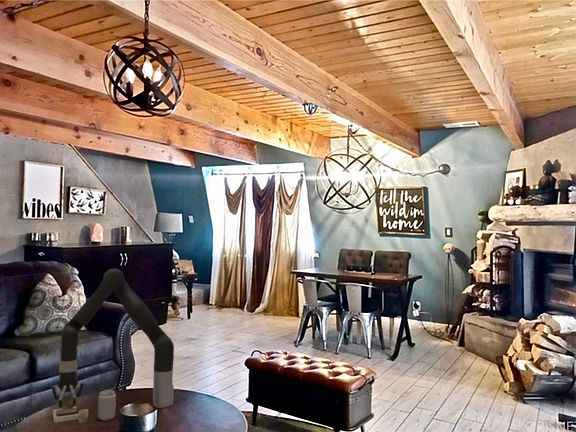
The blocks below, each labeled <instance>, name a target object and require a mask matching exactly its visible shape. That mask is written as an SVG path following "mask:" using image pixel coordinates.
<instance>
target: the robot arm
mask: <svg viewBox="0 0 576 432" xmlns="http://www.w3.org/2000/svg"><path fill="white" fill-rule="evenodd" d="M112 293H113V294H114V295H115V296H116V297H117V299H118V300H119V302H120V303H121V305H122V307H123V309H124V311H125V312H126V313H127V315H128V317H129V318H130V320H131V321H132V322H133V323H134V324H135V325H136V326H137V328H139V330H141V331H142V332H143V333H144V334H145V335H146V336H147V338H148V340H149V341H150V342H151V344H152V346H153V349H154V354H153V355H154V361H153V383H152V384H153V385H152V386H153V388H152V389H153V391H152V406H153V407H154V406H155V408H159V409H161V408H162V409H163V408H168V407H171V406H173V405H174V384H173V383H174V382H173V380H174V379H173V375H174V374H173V373H174V359H175V358H174V356H175V355H174V353H175V345H174V343H173V340H172V339H171V338H170V336H168V335H167V334H166V332H165V331H164V330H163V329H162V328H161V326H159V324H158V322H157V320H156V318H155V316H154V315H153V313H152V312H151V310H150V309H149V308H148V306H147V305H146V303H145V302H144V301H143V300H142V298H140V296H138V295H137V294H136V293H135V291H133V289H132V288H131V287H130V285H129V284H128V282H127V280H126V279H125V276H124V272H122V271H121V270H120V269H118V268H110V269H108V270H106V271H105V272H104V275H103V279H102V281H101V283H100V285H99V286H98V287H97V288H96V290H95V291H94V292H93V293H92V294H91V296H89V298H88V299H87V300H86V301H85V302H84V303H83V304H82V306H81V307H80V308H79V309H78V310H77V311H76V313H75V315H73V317H72V318H71V319H70V320H69V321H68V322H67V323H66V324H65V325H64V326H63V328H62V329H61V332H60V335H61V349H60V360H59V361H60V362H59V370H58V371H59V372H58V383H57V384H55V385H52V386H51V391H52V394H53V397H54V400H58V407H59V409H62V397H64V394H65V393H71V396H73V407H75V406H76V404H77V403H76V401H77V398H78V397H80V396H81V394H82V391H83V387H84V382H82V381H81V382H78V379H77V378H78V342H79V332H80V331H81V330H82V329H83V328H84V326H87V324H89V322H90V321H91V320H92V319H93V317H94V316H95V315H96V313H97V312H98V311H99V309H100V308H101V307H102V305H103V304H104V302H105V301H106V300H107V299H108V298H109V297H110V295H111V294H112ZM77 387H78V390H77V392H76V391H75V389H76V388H77ZM58 388H59V390H60V392H59V395H58V394H57V390H58Z"/></svg>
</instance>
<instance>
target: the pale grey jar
mask: <svg viewBox="0 0 576 432" xmlns="http://www.w3.org/2000/svg"><path fill="white" fill-rule="evenodd" d="M116 402H117V394H116V393H115V390H113V389H107V390H102V391H100V393H99V395H98V404H97V405H98V406H97V408H98V409H97V418H98V419H99V420H100V421H104V422H105V421H111V420H113V419H114V418H115V417H116V404H117V403H116Z"/></svg>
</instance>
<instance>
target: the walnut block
mask: <svg viewBox="0 0 576 432" xmlns="http://www.w3.org/2000/svg"><path fill="white" fill-rule="evenodd" d="M73 407H74V406H73V395H66V396H63V397H62V408H61V409H62V410H65V409H72V408H73Z"/></svg>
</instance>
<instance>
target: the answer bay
mask: <svg viewBox="0 0 576 432" xmlns="http://www.w3.org/2000/svg"><path fill="white" fill-rule="evenodd" d="M76 412H78V406H73V408H72V409H65V410H62V408H57V409H52V419H53V423H54V424H55V423H56V424H57V423H61V422H68V421H75V420H78V417H79V413H76ZM69 413H73V414H69ZM74 413H75V414H74ZM56 414H57V415H60V416H57V415H56ZM63 414H68V415H63ZM61 415H62V416H61Z"/></svg>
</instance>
